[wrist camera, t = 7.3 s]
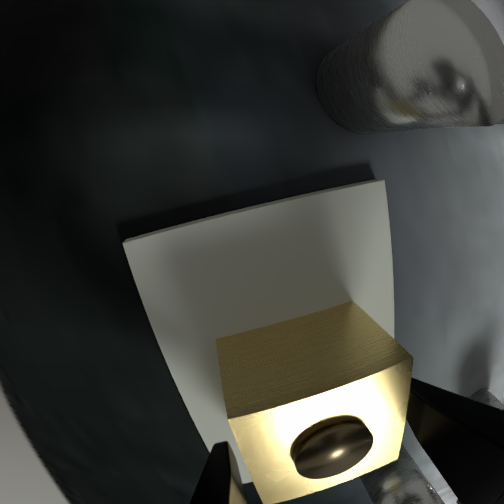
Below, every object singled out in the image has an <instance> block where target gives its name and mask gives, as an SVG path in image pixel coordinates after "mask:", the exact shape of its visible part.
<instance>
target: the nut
mask: <svg viewBox="0 0 504 504" xmlns="http://www.w3.org/2000/svg"><path fill="white" fill-rule="evenodd" d="M215 340H216V347H217V354H218V361H219V368H220V375H221V381H222V388H223V394H224V401H225V407H226V413H227V419H228V422H229V425H230V427H231V430H232V432H233V435H234V437H235V440H236V442H237V444H238V447H239V449H240V452H241V454H242V457H243V459H244V461H245V464H246V466H247V468H248V471H249V473H250V475H251V478H252V480H253V482H254V484H255V487H256V489H257V491H258V493H259V496H260V498H261V500H262V502H263V504H275V503H279V502H283V501H286V500H290V499H294V498H297V497H300V496H304V495H307V494H310V493H314V492H317V491H320V490H323V489H326V488H329V487H332V486H334V485H337V484H340V483H343V482H345V481H348V480H351V479H353V478H356V477H358V476H361V475H363V474H365V473H368V472H370V471H373V470H375V469H377V468H379V467H382V466H384V465H386V464H388V463H390V462H393V461H395V460H397V459H398V456H399V451H400V446H401V441H402V436H403V431H404V425H405V419H406V413H407V406H408V399H409V392H410V384H411V375H412V366H413V357H412V356H411V355H410V354H409V353H408V352H407V351H406V350H405V349H404V348H403V347H402V346H401V345H400V344H399V343H398V342H397V341H396V340H395V339H394V338H393V337H391V336H390V335H389V334H388V333H387V332H386V331H385V330H384V329H383V328H382V327H381V326H380V325H379V324H378V323H377V322H375V321H374V320H373V319H372V318H371V317H370V316H369V315H368V314H367V313H366V312H365V311H364V310H363V309H361V308H360V307H359V306H358V305H357V304H356V303H355V302H354V301H350V302H347V303H343V304H340V305H337V306H334V307H331V308H327V309H324V310H321V311H317V312H314V313H311V314H307V315H304V316H300V317H297V318H294V319H290V320H286V321H283V322H279V323H276V324H272V325H268V326H265V327H261V328H257V329H253V330H250V331H246V332H242V333H238V334H234V335H230V336H226V337H222V338H218V339H215Z"/></svg>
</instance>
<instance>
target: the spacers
mask: <svg viewBox="0 0 504 504" xmlns="http://www.w3.org/2000/svg"><path fill="white" fill-rule="evenodd" d="M316 89H317V94H318V97H319V100H320V102H321V105H322V106H323V108H324V110H325V111H326V113H327V114H328V115H329V116H330V117H331V119H332V120H333V121H335V122H336V123H337V124H338V125H340V126H341V127H343V128H345V129H346V130H349V131H351V132H354V133H359V134H370V133H379V132H389V131H400V130H413V129H427V128H444V127H470V126H492V125H495V124H504V45H503V43H502V41H501V39H500V37H499V35H498V33H497V31H496V30H495V28H494V27H493V25H492V24H491V22H490V21H489V20H488V18H487V17H486V16H485V15H484V13H483V12H482V11H481V10H480V9H479V8H478V7H477V6H476V5H475V4H474V3H472V2H471V1H470V0H409V1H407V2H405V3H404V4H402V5H400V6H399V7H397V8H396V9H394V10H392V11H391V12H389V13H387V14H386V15H384V16H383V17H381V18H380V19H378V20H377V21H375V22H373V23H372V24H370V25H369V26H367V27H366V28H364V29H363V30H361V31H360V32H358V33H357V34H355V35H354V36H353V37H351V38H350V39H348V40H347V41H345V42H344V43H343V44H341V45H340V46H338V47H337V48H335V49H334V50H333V51H331V52H330V53H329V54H327V55H326V56H325V57H324V59H323V60H322V61H321V63H320V65H319V67H318V70H317V74H316ZM470 399H472V400H475V401H478V402H481V403H484V404H487V405H490V406H493V407H496V408H499V409H501V410H502V409H503V410H504V404H503V403H502V402H501V401H499V400H498V399H497V398H496V397H495V396H494V395H493V394H492V393H490V392H489V391H488V390H487V389H482V390H480V391H478V392H477V393H475V394H474V395H473V396H472V397H470ZM359 477H360V479H361V481H362V483H363V485H364V487H365V489H366V490H367V492H368V494H369V496H370V498H371V500H372V502H373V503H374V504H445V503H444V502H443V501H442V499H441V498H440V496H439V495H438V494H437V492H436V491H435V489H434V488H433V486H432V485H431V484H430V482H429V481H428V479H427V478H426V477H425V475H424V474H423V472H422V471H421V470H420V468H419V467H418V465H417V464H416V463H415V461H414V460H413V458H412V457H411V456H410V454H409V453H408V451H407V450H406V449H405V447H404V446H403V444H402V443H401V446H400V451H399V456H398V459H397V460H395V461H393V462H390V463H388V464H386V465H384V466H382V467H379V468H377V469H375V470H373V471H370V472H368V473H365V474H363V475H361V476H359Z"/></svg>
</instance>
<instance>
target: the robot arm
mask: <svg viewBox="0 0 504 504" xmlns="http://www.w3.org/2000/svg"><path fill="white" fill-rule="evenodd" d="M406 419H407V421H408V423H409V425H410V427H411V429H412V431H413V433H414V435H415V436H416V438H417V440H418V442H419V443H420V445H421V446H422V448H423V449H424V450H425V452H426V453H427V455H428V456H429V457H430V459H431V460H432V462H433V463H434V465H435V466H436V468H437V469H438V470H439V472H440V473H441V475H442V476H443V478H444V479H445V480H446V482H447V483H448V485H449V486H450V488H451V489H452V491H453V492H454V494H455V495H456V497H457V498H458V499H459V501H460V502H461V504H504V410H503V409H502V410H501V409H499V408H496V407H493V406H490V405H487V404H484V403H481V402H478V401H475V400H472V399H470V398H467V397H464V396H461V395H458V394H455V393H452V392H450V391H447V390H444V389H441V388H439V387H436V386H433V385H430V384H428V383H425V382H422V381H420V380H417V379H414V378H411V384H410V392H409V399H408V406H407V413H406ZM190 504H247V499H246V495H245V491H244V487H243V484H242V480H241V476H240V472H239V468H238V464H237V460H236V457H235V455H234V453H233V450H232V448H231V446H230V444H229V442H228V441H222V442H218V443H215V444H214V445H213V447H212V450H211V452H210V455H209V457H208V460H207V462H206V465H205V467H204V470H203V472H202V475H201V477H200V480H199V482H198V484H197V487H196V489H195V492H194V494H193V497H192V499H191V501H190Z"/></svg>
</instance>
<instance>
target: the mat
mask: <svg viewBox="0 0 504 504" xmlns="http://www.w3.org/2000/svg"><path fill="white" fill-rule="evenodd" d="M123 246H124V250H125V253H126V256H127V259H128V262H129V265H130V268H131V271H132V274H133V277H134V280H135V283H136V286H137V289H138V291H139V294H140V297H141V300H142V302H143V305H144V308H145V310H146V313H147V316H148V318H149V321H150V324H151V326H152V329H153V331H154V334H155V336H156V339H157V341H158V344H159V346H160V349H161V351H162V353H163V356H164V358H165V360H166V363H167V365H168V367H169V370H170V372H171V374H172V377H173V379H174V381H175V383H176V385H177V388H178V390H179V392H180V394H181V396H182V398H183V401H184V403H185V405H186V407H187V409H188V411H189V413H190V415H191V417H192V419H193V421H194V423H195V425H196V427H197V429H198V431H199V433H200V435H201V437H202V439H203V441H204V443H205V445H206V446H207V448H208V450H209V452H211V450H212V447H213V445H214V444H215V443H218V442H222V441H228V442H229V444H230V446H231V448H232V450H233V453H234V455H235V457H236V460H237V464H238V468H239V472H240V476H241V480H242V484H243V483H248V482H252V481H253V480H252V478H251V475H250V473H249V471H248V468H247V466H246V464H245V461H244V459H243V457H242V454H241V452H240V449H239V447H238V444H237V442H236V440H235V437H234V435H233V432H232V430H231V427H230V425H229V422H228V419H227V413H226V407H225V401H224V394H223V388H222V381H221V375H220V368H219V361H218V354H217V347H216V340H215V339H218V338H222V337H226V336H230V335H234V334H238V333H242V332H246V331H250V330H253V329H257V328H261V327H265V326H268V325H272V324H276V323H279V322H283V321H286V320H290V319H294V318H297V317H300V316H304V315H307V314H311V313H314V312H317V311H321V310H324V309H327V308H331V307H334V306H337V305H340V304H343V303H347V302H350V301H354V302H355V303H356V304H357V305H358V306H359V307H360V308H361V309H363V310H364V311H365V312H366V313H367V314H368V315H369V316H370V317H371V318H372V319H373V320H374V321H375V322H377V323H378V324H379V325H380V326H381V327H382V328H383V329H384V330H385V331H386V332H387V333H388V334H389V335H390V336H391V337H393V338H394V286H393V264H392V249H391V236H390V224H389V214H388V205H387V197H386V189H385V181H384V180H380V179H374V180H369V181H364V182H359V183H354V184H349V185H344V186H339V187H335V188H330V189H325V190H321V191H316V192H312V193H307V194H303V195H298V196H294V197H289V198H285V199H281V200H276V201H272V202H268V203H263V204H259V205H255V206H251V207H247V208H243V209H238V210H234V211H230V212H226V213H222V214H218V215H214V216H210V217H207V218H203V219H199V220H195V221H191V222H187V223H183V224H180V225H176V226H172V227H168V228H165V229H161V230H157V231H154V232H150V233H146V234H143V235H139V236H136V237H132V238H129V239H126V240H125V241H124V242H123Z"/></svg>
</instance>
